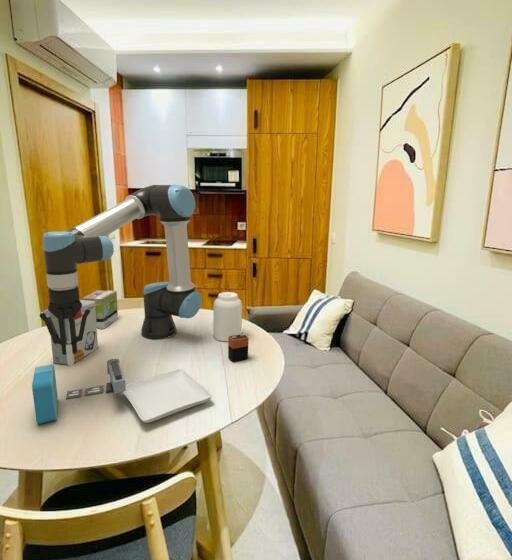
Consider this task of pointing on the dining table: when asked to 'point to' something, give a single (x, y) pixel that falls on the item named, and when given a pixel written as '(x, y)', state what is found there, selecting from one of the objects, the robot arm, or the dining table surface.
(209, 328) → the dining table surface
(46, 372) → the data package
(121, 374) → the swing arm
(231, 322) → the white jar
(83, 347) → the hard drive box
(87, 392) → the label plate
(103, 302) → the tea box
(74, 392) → the label plate
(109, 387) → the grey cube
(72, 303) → the robot arm
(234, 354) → the battery
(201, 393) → the salad plate
